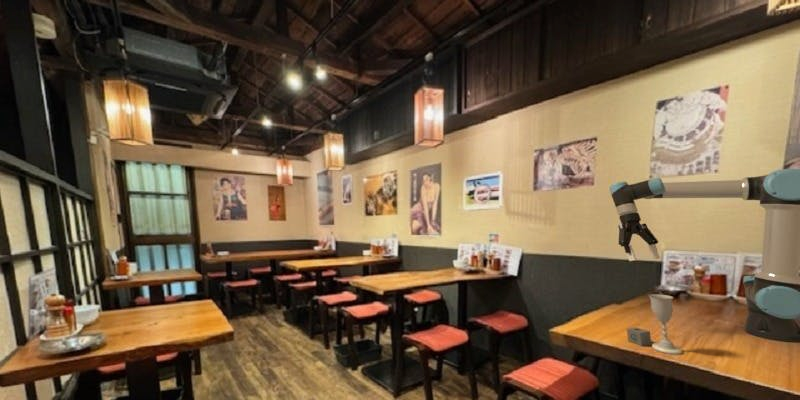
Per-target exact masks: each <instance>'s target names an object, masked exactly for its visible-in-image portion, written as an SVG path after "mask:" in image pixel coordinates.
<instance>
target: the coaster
mask: <svg viewBox="0 0 800 400" xmlns="http://www.w3.org/2000/svg"><path fill="white" fill-rule="evenodd" d="M658 344H659V342H654V343H651V348H652V349H653V350H654V351H656V352H659V353H662V354H666V355H673V356H674V355H675V356H677V355H682V353H683V351H682V349H681V347H680V346H679V347H678V346H676V345H674V347H675V348H676V349H675V350H667V349H663V348H660V347H658V346H657V345H658Z"/></svg>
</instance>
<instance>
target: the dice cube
mask: <svg viewBox="0 0 800 400" xmlns="http://www.w3.org/2000/svg"><path fill="white" fill-rule="evenodd" d="M626 331H627V342H628V343H630V344H634V345H637V346H639V347H647V346H652V337H651V331H650V330H647V329H644V328H640V327H630V328H627V329H626Z"/></svg>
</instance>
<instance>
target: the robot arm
mask: <svg viewBox="0 0 800 400" xmlns="http://www.w3.org/2000/svg"><path fill="white" fill-rule="evenodd" d="M609 190H610V191H609V193H610V196H611V199H612V201H613V203H614V207H615V209H616V212H617V215H618V216H619V217H618V219H619V221H620V223H621V224H619V225H618V229H619V230H618V245H619V246H620V247H622V248H624V252H625V253H626V256H627V258H628V261H629V262H633V261H637V257H636V255H635V253H634V252H635V251H634V249H633V247H632V244H631V240H632V237H633V235H637V236H639V237H640V238H641V239H643V241H644V242H645V243H646V244H647V248H648V251H649V253H650V256H651V259H652V261H653V260H660V259H661V258H660V255H659V252H658V248H657V246H656V245H657V244H658V243H659V240H658V239H657V238H656V236H654V234H653V232H652V231H651V230H650V229H649V227H648V225H647V223H642V224H641V221H642V218H641V216H640V213H639V210H638V208H637V204H636V203H635V201H638V200H640V199H646V200H652V199H730V198H731V199H735V198H737V199H738V198H739V199H742V200H744V201H759V206H760V207H761V208H763V209H764V210H765V216H764V217H765V218H764V227H763V229H764V230H763V241H762V242H763V243H762V255H761V257H762V258H761V266H760V267H761V269H760V271H761V272H758V273H757V274H755V275H745V276H744V277H743V281H742V284H743V287H744V293H745V295H744V296H745V300H746V306H747V315H746V317H745V320H744V324H743V330H744V332H745V333H747V334H749V335H753V336H756V337H759V338H762V339H763V338H764V339H769V340H774V341H782V342H791V343H795V342H796V343H799V342H800V325H799V323H798V322H797V320H796V319H799V318H800V168H781V169H778V170H773V171H772V172H770V173H768V174H765V175H761V176H750V177H748V176H747V177H743V178H741V179H740V180H739V179H734V180H705V181H702V180H701V181H700V180H699V181H678V182H677V181H675V182H673V181H672V182H671V181H670V182H663V180H662V179H661V177H655V178H649V179H646V180H644V181H640V182H636V183H631V184H629V183H628V182H627V181H619V182H615V183H613V184H611V185H610V186H609Z"/></svg>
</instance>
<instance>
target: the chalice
mask: <svg viewBox="0 0 800 400" xmlns="http://www.w3.org/2000/svg"><path fill="white" fill-rule="evenodd" d="M648 297H649V299H650V306H651V310H652V313H653V315H654V316H655V317H656V319H657V321H658V322H660V323H661V329H662V331H661V334H662V335H663V338H660V339H659V341H658V343H659V344H658V345H657V346H658V347H660V348H663V349H667V350H675V349H676V348H675V347H674V346H675V345H674V343H673V342H672V341H671V340H670V339H669V338H668V334H669V333H668V331H667V329H668V327H667V326H666V325H667V324H666V323H669V322H670V320H671V318H672V317H673V313H674V311H673V310H674V309H673V299H674V296H671V295H668V294H667V295H666V294H658V293H657V294H648Z"/></svg>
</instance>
